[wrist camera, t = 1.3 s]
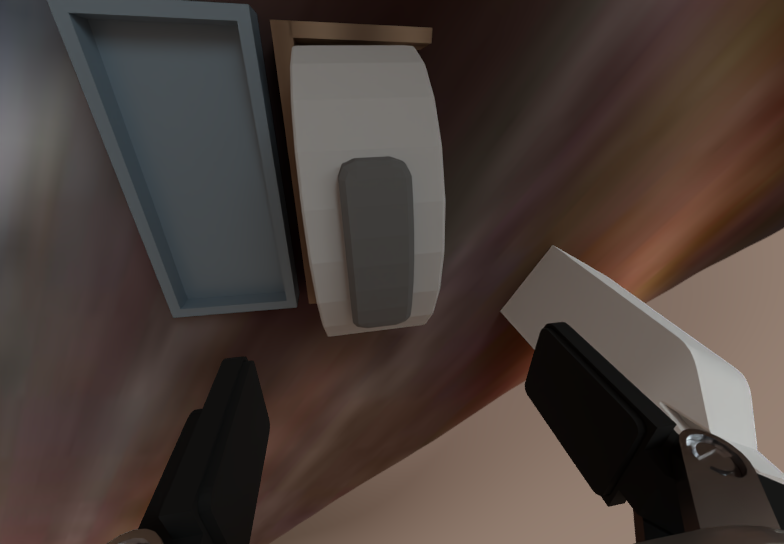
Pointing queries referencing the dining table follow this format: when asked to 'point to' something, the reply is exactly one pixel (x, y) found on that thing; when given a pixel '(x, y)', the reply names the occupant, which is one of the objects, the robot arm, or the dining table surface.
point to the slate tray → (189, 145)
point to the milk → (641, 350)
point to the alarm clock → (369, 184)
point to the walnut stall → (327, 34)
